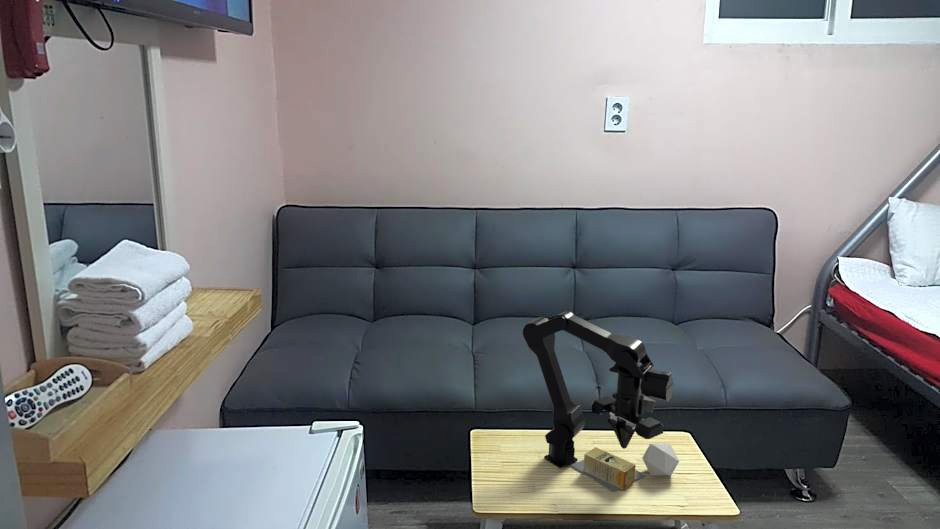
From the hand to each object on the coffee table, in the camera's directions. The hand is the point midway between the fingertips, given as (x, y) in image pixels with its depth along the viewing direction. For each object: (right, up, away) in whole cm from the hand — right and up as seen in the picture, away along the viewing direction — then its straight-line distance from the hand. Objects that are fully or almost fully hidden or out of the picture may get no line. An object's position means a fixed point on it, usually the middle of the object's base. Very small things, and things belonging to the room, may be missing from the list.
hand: (624, 447), depth 178 cm
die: (+10, -8, +6) cm, 14 cm away
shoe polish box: (+1, -7, -2) cm, 7 cm away
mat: (-3, -8, +6) cm, 10 cm away
